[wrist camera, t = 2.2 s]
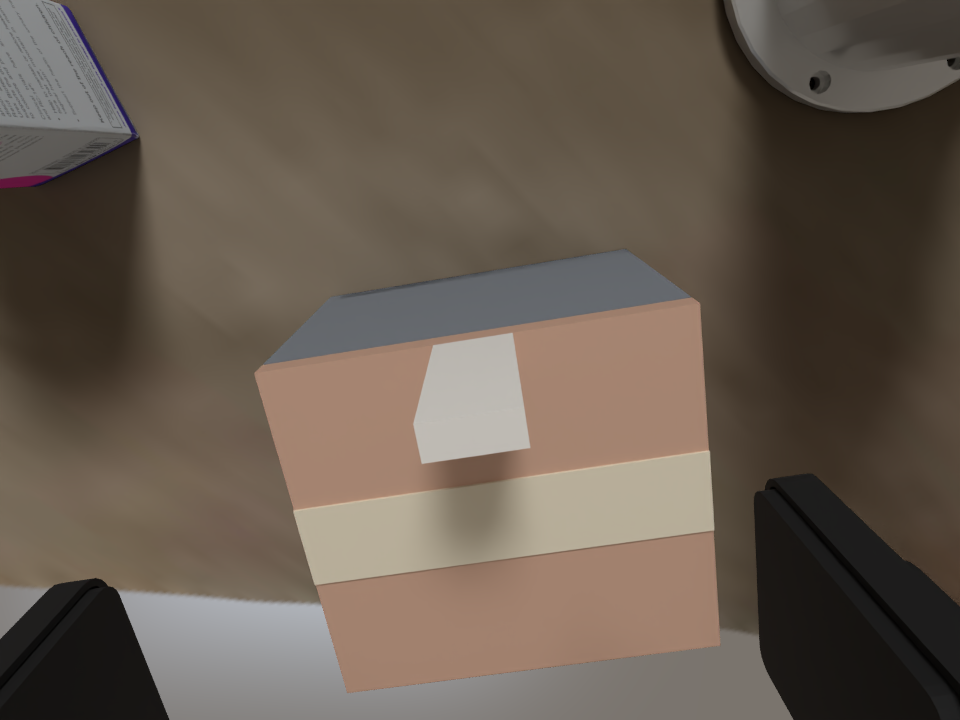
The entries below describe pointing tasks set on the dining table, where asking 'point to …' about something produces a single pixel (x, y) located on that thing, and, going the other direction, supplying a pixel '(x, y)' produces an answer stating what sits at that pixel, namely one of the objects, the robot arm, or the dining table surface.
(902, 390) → the dining table surface
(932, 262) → the dining table surface
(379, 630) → the lid
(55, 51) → the supplement box
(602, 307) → the carton
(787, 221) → the dining table surface
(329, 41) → the dining table surface
